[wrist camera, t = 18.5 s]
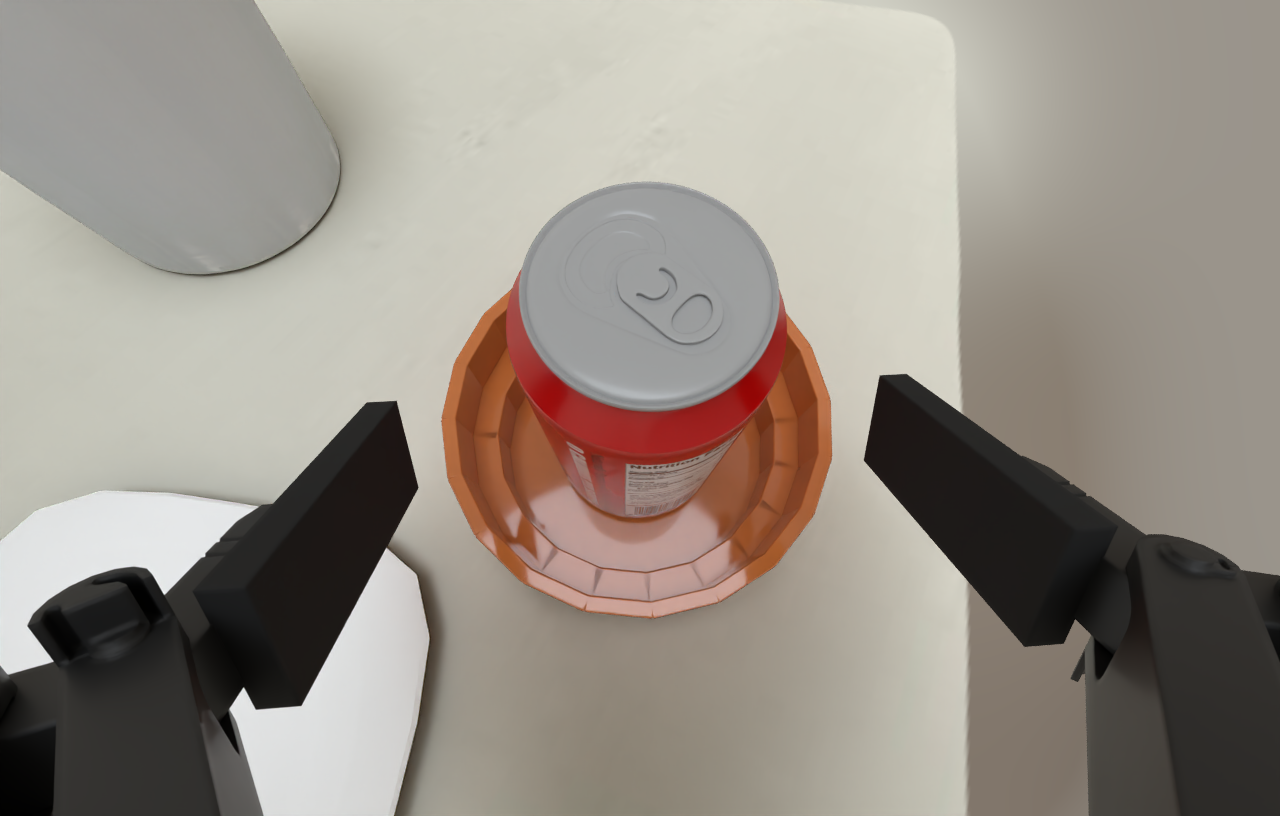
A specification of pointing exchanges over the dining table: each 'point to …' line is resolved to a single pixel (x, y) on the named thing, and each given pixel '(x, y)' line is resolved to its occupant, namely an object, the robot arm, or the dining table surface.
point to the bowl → (621, 546)
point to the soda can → (645, 340)
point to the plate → (272, 738)
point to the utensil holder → (164, 127)
